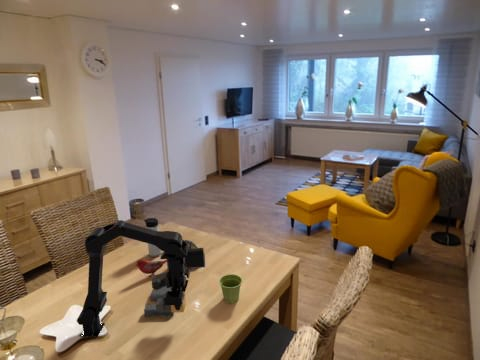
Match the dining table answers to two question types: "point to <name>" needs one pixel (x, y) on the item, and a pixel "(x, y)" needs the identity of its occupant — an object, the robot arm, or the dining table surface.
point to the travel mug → (153, 225)
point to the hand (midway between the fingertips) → (179, 305)
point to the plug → (162, 307)
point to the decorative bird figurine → (149, 266)
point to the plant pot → (230, 287)
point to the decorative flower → (190, 246)
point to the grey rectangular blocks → (151, 309)
